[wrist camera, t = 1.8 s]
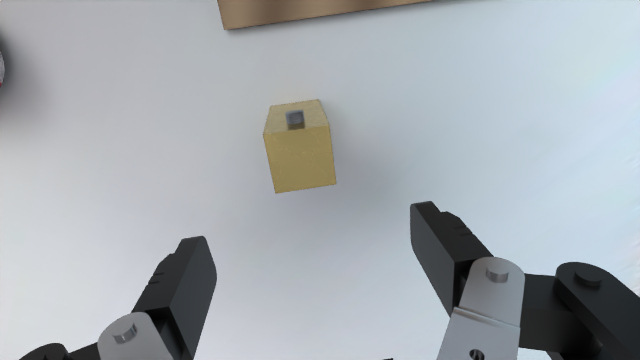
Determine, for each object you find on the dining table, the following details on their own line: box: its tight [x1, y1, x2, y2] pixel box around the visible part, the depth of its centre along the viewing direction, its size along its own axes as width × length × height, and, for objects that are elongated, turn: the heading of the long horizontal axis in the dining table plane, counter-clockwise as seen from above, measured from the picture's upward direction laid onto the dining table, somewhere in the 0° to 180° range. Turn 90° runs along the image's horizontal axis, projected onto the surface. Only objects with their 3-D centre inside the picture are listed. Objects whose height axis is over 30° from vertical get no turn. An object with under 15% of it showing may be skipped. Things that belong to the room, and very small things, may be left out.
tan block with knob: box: [263, 99, 336, 193], centre depth 24 cm, size 4×5×8 cm
